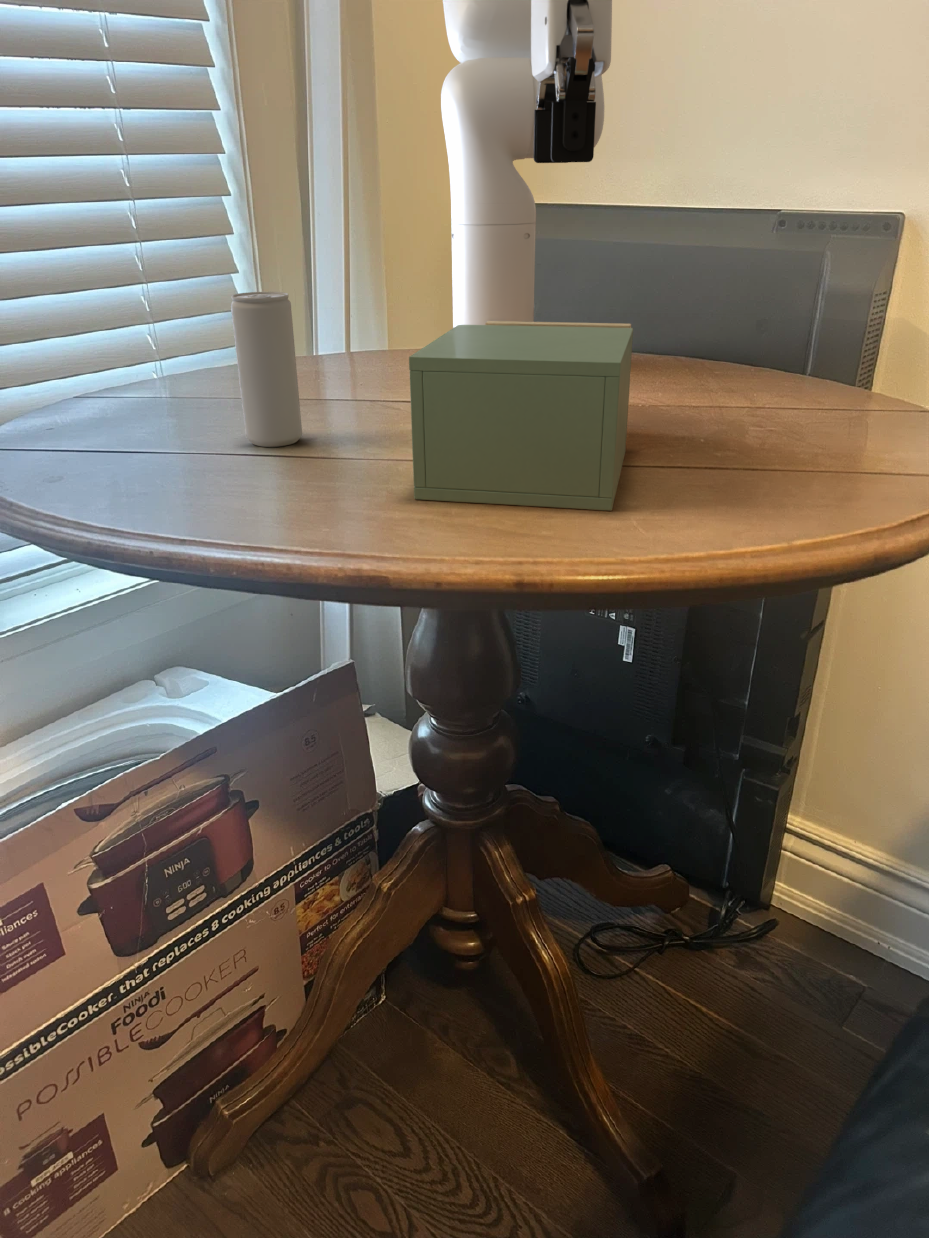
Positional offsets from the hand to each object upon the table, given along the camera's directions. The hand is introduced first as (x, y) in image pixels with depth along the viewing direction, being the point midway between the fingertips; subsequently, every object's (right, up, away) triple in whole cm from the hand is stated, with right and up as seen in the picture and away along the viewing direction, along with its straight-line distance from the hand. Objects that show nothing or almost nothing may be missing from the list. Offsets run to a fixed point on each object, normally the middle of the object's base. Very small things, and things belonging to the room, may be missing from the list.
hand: (561, 162), depth 75 cm
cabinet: (-3, -26, -5) cm, 26 cm away
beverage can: (-24, -22, +5) cm, 33 cm away
